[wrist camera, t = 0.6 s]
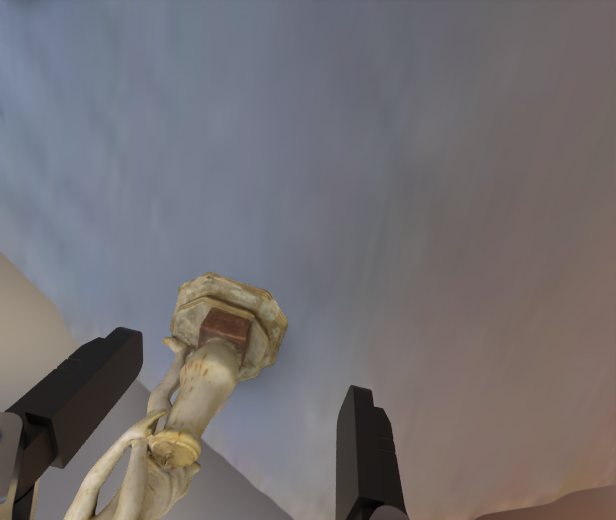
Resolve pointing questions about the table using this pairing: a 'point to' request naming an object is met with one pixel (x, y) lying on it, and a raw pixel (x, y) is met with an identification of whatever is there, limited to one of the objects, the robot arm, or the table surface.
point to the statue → (187, 396)
